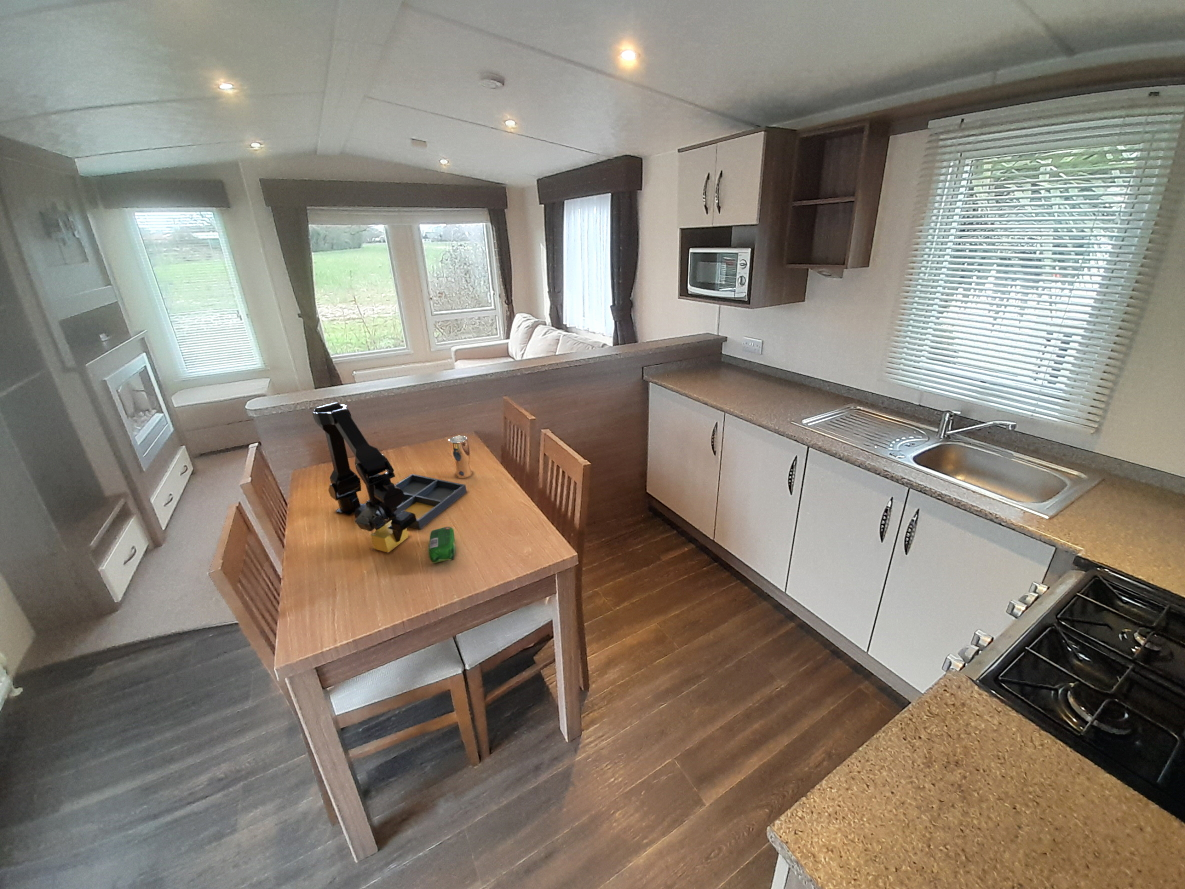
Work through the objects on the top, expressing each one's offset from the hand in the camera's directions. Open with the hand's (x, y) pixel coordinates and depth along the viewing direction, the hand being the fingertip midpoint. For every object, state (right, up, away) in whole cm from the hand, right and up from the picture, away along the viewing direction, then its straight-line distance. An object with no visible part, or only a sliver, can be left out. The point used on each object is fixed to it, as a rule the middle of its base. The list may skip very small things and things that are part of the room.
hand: (390, 539), depth 144 cm
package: (0, -1, 0) cm, 1 cm away
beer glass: (+12, +17, +39) cm, 44 cm away
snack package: (+17, -3, -4) cm, 18 cm away
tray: (0, +8, +21) cm, 23 cm away
